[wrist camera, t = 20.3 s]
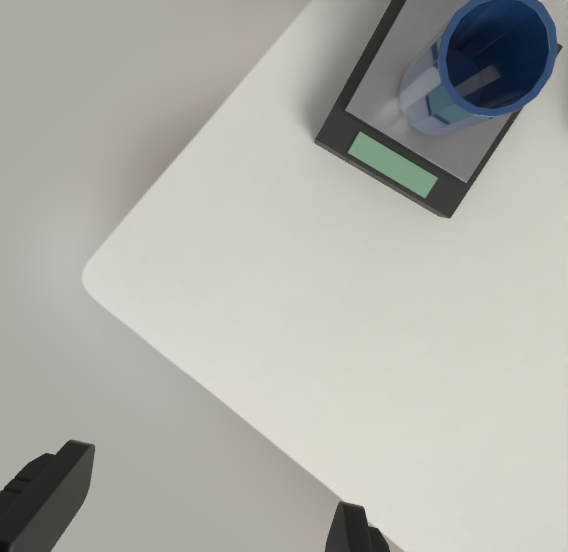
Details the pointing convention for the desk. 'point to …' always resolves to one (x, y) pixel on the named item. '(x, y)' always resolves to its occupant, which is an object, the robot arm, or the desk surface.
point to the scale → (388, 155)
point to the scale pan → (386, 98)
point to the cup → (479, 66)
